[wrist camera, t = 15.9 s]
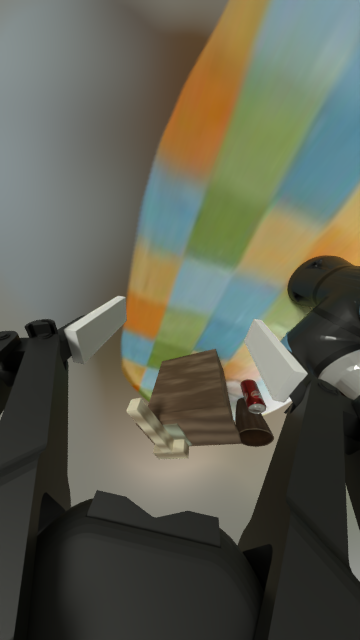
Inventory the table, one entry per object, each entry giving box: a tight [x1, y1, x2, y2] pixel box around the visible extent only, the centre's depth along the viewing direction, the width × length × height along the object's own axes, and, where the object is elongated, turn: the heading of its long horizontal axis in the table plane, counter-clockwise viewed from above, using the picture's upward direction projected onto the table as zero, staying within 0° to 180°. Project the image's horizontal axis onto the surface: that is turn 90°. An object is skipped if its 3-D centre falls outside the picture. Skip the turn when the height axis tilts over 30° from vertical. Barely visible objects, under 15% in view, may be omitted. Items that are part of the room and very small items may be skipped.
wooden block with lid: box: [136, 349, 242, 446], centre depth 54 cm, size 15×28×28 cm, turn 112°
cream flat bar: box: [127, 398, 189, 459], centre depth 40 cm, size 25×10×3 cm, turn 22°
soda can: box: [240, 379, 266, 414], centre depth 63 cm, size 7×7×12 cm
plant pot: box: [236, 398, 274, 447], centre depth 68 cm, size 15×15×16 cm
